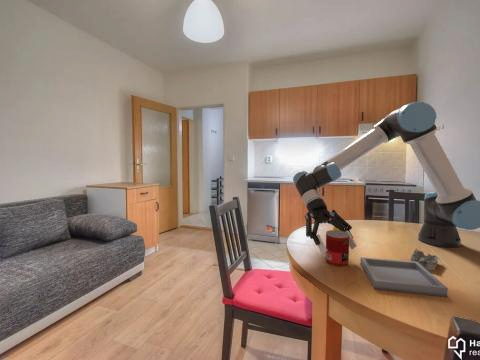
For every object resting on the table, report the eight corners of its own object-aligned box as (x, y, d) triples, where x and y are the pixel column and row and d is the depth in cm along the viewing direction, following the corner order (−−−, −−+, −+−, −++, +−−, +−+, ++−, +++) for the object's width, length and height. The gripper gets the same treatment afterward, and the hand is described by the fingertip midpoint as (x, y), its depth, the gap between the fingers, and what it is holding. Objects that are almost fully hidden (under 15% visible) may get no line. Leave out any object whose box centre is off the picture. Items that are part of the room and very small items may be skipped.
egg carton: (415, 258, 94) (416, 247, 94) (440, 264, 88) (441, 253, 88) (407, 266, 87) (408, 254, 86) (434, 272, 81) (434, 261, 81)
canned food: (346, 268, 85) (347, 237, 84) (323, 263, 89) (323, 234, 88) (350, 260, 91) (350, 231, 91) (328, 256, 96) (328, 229, 95)
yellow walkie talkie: (331, 227, 131) (340, 222, 143) (330, 231, 131) (340, 225, 143) (340, 229, 128) (348, 223, 140) (340, 232, 128) (348, 226, 140)
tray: (417, 268, 84) (417, 261, 84) (447, 297, 66) (447, 288, 66) (360, 263, 88) (360, 257, 88) (374, 289, 71) (374, 280, 71)
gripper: (333, 206, 108) (360, 250, 95) (284, 210, 100) (306, 259, 87) (342, 195, 103) (372, 241, 90) (292, 199, 94) (316, 250, 81)
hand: (340, 250), depth 88 cm, fingers open, 13 cm apart
